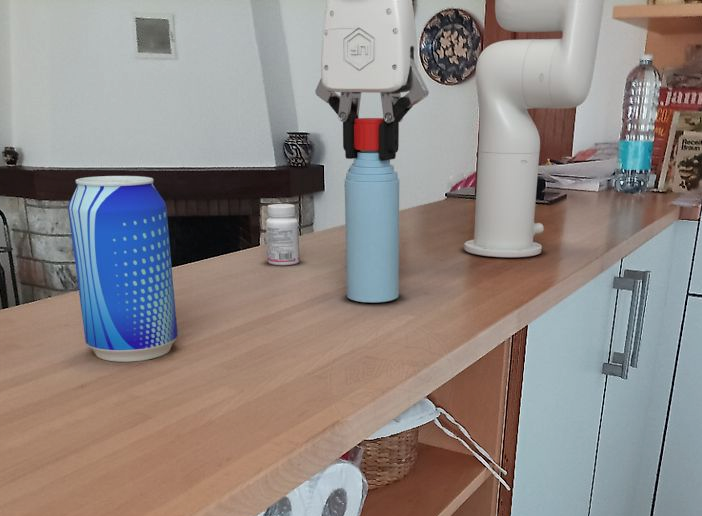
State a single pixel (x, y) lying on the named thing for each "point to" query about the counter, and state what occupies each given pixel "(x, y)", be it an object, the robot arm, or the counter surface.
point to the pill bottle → (282, 235)
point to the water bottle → (372, 229)
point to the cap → (367, 133)
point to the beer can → (123, 267)
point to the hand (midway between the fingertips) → (370, 157)
